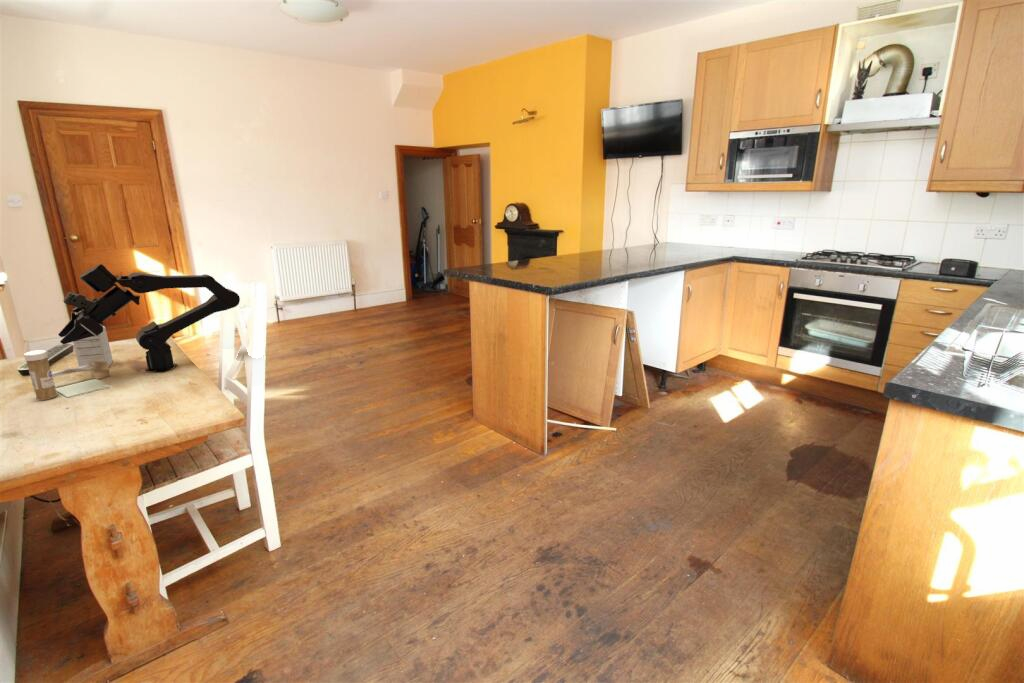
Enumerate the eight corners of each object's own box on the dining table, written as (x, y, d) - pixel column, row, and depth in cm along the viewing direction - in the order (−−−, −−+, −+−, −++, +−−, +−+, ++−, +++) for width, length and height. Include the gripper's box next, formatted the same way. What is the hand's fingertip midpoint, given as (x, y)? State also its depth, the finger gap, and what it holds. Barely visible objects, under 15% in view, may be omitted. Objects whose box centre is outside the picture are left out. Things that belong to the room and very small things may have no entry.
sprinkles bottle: (56, 398, 139) (44, 352, 135) (34, 402, 136) (21, 355, 132) (59, 393, 142) (47, 348, 138) (38, 396, 140) (25, 350, 136)
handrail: (105, 373, 157) (102, 358, 156) (110, 376, 156) (106, 360, 154) (35, 390, 144) (30, 373, 142) (39, 393, 142) (34, 376, 140)
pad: (96, 379, 152) (95, 378, 152) (110, 387, 147) (109, 385, 147) (54, 390, 144) (53, 388, 144) (67, 398, 139) (67, 396, 139)
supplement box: (86, 364, 165) (77, 327, 162) (113, 361, 168) (105, 325, 165) (79, 371, 159) (69, 333, 155) (107, 368, 162) (99, 331, 158)
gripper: (82, 278, 151) (32, 313, 145) (88, 288, 138) (33, 326, 132) (114, 305, 158) (68, 339, 152) (123, 316, 145) (73, 354, 139)
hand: (60, 339), depth 144 cm, fingers open, 9 cm apart
